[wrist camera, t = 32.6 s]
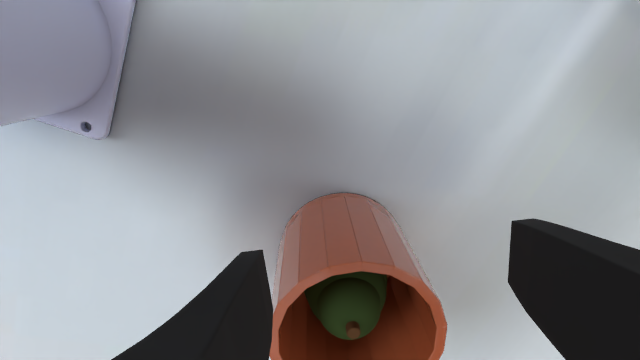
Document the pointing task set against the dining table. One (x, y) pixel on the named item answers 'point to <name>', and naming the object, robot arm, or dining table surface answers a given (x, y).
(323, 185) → the dining table surface
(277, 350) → the cup
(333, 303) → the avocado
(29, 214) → the dining table surface
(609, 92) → the dining table surface
